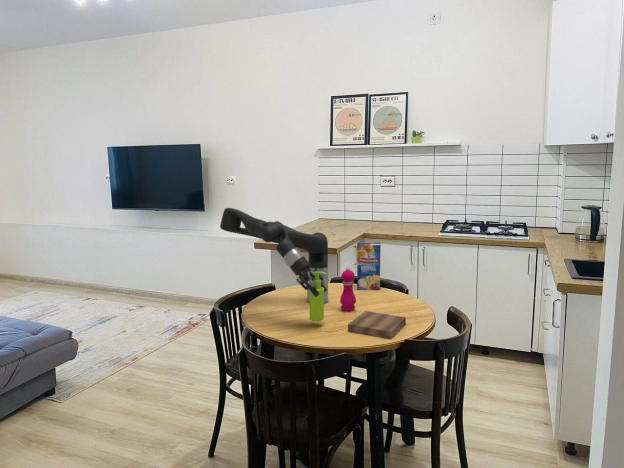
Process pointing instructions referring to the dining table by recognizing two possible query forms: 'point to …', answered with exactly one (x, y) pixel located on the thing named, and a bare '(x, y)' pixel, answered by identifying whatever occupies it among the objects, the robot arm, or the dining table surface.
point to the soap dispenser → (317, 299)
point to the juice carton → (368, 265)
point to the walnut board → (377, 324)
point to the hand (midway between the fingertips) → (321, 293)
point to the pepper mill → (348, 291)
